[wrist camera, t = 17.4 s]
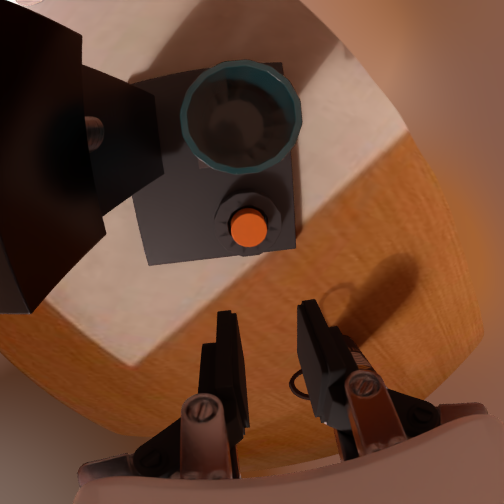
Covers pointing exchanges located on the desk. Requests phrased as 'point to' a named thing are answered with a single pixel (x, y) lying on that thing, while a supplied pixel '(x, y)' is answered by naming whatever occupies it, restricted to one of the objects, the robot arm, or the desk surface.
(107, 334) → the desk surface
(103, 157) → the brewer column
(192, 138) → the cup
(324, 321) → the robot arm
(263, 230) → the brew button
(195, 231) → the dark grey flat block
